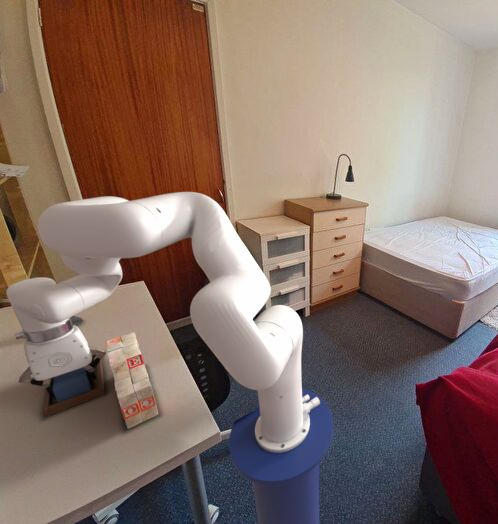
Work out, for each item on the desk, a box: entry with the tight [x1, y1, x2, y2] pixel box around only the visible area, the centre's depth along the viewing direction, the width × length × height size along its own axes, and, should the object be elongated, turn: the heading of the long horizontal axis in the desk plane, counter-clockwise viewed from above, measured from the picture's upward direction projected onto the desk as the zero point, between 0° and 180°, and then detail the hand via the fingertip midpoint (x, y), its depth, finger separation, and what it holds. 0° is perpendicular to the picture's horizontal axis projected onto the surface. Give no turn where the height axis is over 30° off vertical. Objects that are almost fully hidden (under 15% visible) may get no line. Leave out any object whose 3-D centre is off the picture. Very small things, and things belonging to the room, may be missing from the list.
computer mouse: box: [70, 315, 84, 327], centre depth 96 cm, size 6×9×4 cm, turn 174°
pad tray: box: [43, 354, 106, 417], centre depth 75 cm, size 11×18×2 cm, turn 42°
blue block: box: [52, 367, 92, 403], centre depth 71 cm, size 6×7×4 cm
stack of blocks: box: [105, 331, 159, 430], centre depth 70 cm, size 21×6×12 cm, turn 42°
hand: (75, 387), depth 72 cm, fingers closed on blue block, 6 cm apart
